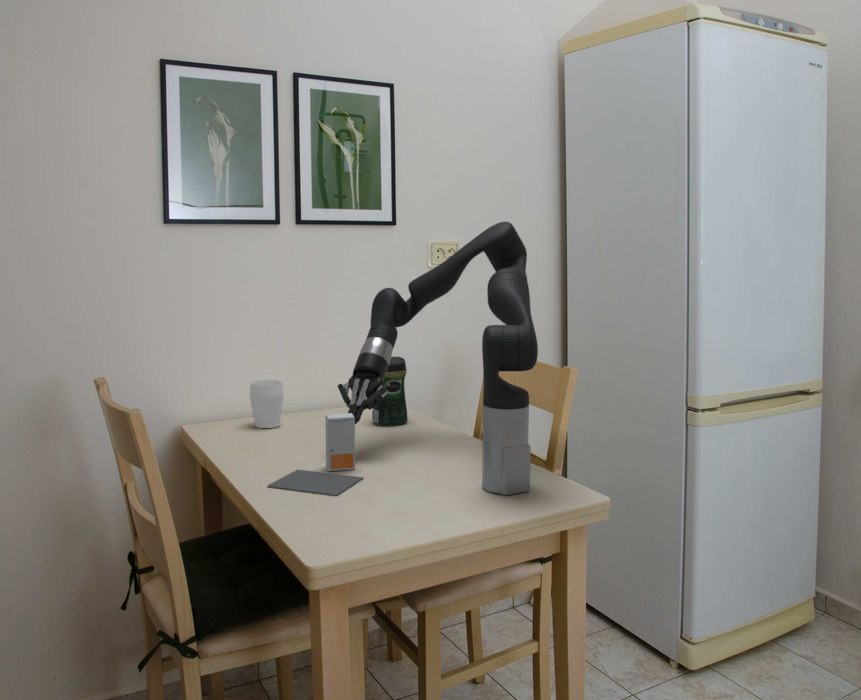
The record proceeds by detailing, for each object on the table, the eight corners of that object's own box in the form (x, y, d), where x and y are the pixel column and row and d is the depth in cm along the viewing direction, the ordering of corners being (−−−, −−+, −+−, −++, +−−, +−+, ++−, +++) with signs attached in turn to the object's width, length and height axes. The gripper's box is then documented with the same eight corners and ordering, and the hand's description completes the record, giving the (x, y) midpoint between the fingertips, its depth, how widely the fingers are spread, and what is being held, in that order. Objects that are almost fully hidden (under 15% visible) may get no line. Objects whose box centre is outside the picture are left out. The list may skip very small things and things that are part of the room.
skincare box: (328, 472, 164) (327, 418, 162) (325, 466, 168) (324, 414, 166) (356, 469, 166) (355, 416, 164) (352, 464, 170) (351, 412, 168)
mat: (297, 470, 165) (297, 469, 165) (363, 478, 159) (363, 477, 159) (267, 487, 154) (267, 485, 154) (336, 496, 148) (336, 494, 148)
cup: (244, 428, 203) (242, 385, 201) (261, 421, 211) (259, 379, 209) (274, 431, 200) (273, 386, 198) (290, 423, 209) (289, 380, 207)
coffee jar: (401, 418, 214) (401, 354, 212) (410, 424, 207) (410, 358, 204) (368, 421, 211) (367, 355, 208) (376, 427, 204) (376, 359, 201)
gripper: (403, 371, 181) (383, 433, 171) (354, 368, 185) (331, 428, 176) (394, 352, 175) (372, 415, 166) (343, 349, 180) (319, 411, 170)
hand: (351, 422), depth 171 cm, fingers closed
